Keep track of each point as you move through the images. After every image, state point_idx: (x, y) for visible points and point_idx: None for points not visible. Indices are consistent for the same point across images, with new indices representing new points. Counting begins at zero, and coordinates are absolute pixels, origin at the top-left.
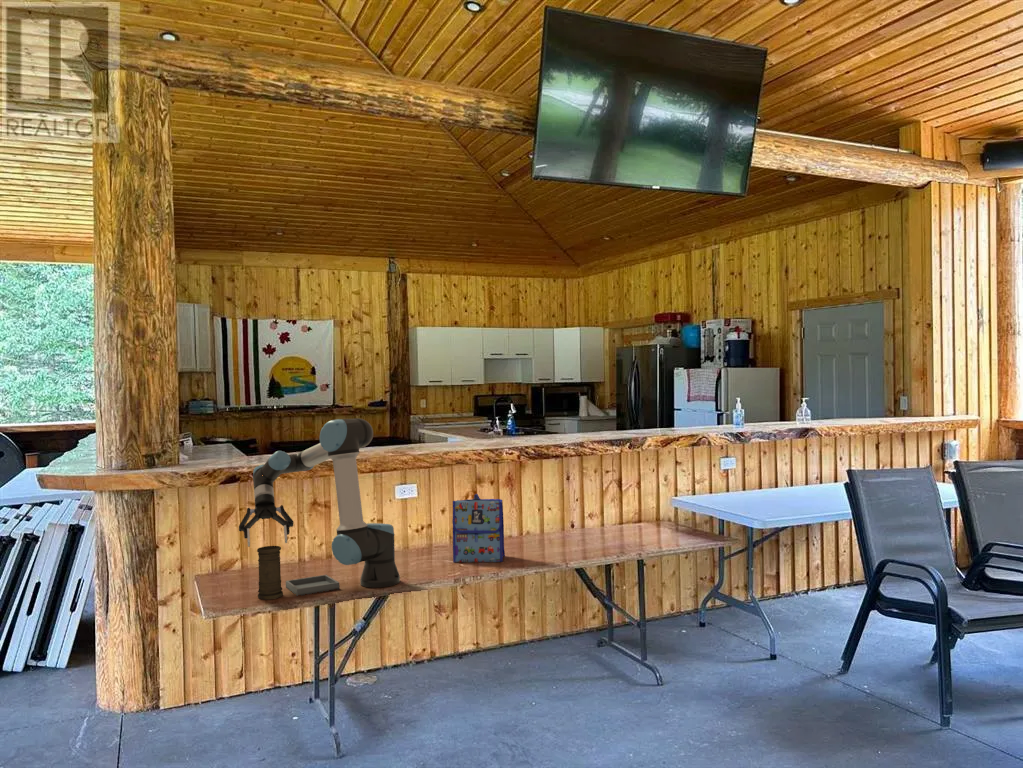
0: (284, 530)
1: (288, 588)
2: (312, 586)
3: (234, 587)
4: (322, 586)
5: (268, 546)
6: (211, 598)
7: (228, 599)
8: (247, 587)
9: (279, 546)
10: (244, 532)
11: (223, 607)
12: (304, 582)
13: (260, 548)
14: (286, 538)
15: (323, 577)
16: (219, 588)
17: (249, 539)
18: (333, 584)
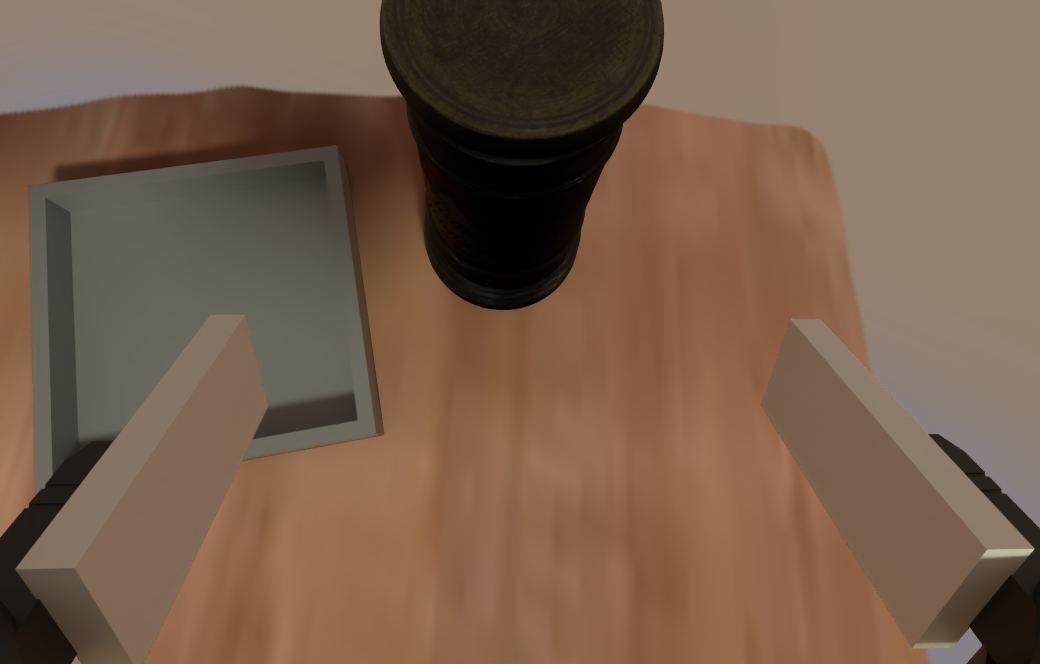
0: (162, 461)
1: (373, 365)
2: (228, 168)
3: (729, 621)
4: (163, 172)
5: (527, 98)
6: None
7: (743, 294)
8: (639, 573)
9: (391, 34)
10: (1009, 507)
11: (756, 133)
12: None
13: (628, 25)
14: (222, 317)
15: None
16: (831, 643)
17: (821, 351)
18: (80, 182)
